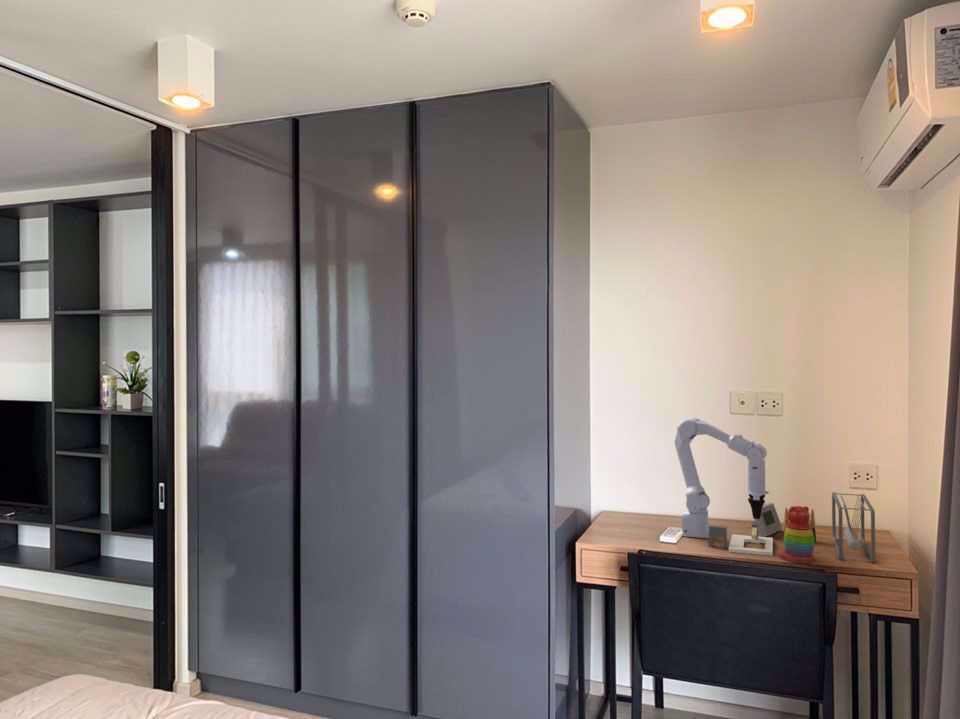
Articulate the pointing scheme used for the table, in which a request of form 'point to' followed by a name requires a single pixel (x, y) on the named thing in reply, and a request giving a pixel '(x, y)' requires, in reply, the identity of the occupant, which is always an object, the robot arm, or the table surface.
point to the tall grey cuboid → (718, 534)
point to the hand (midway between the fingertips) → (756, 516)
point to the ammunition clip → (811, 523)
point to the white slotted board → (739, 540)
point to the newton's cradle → (850, 532)
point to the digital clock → (768, 521)
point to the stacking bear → (798, 537)
